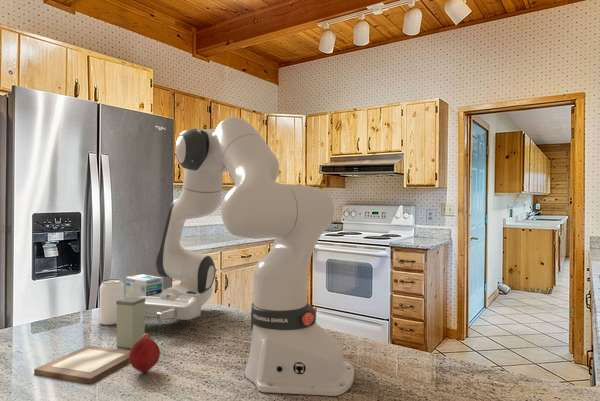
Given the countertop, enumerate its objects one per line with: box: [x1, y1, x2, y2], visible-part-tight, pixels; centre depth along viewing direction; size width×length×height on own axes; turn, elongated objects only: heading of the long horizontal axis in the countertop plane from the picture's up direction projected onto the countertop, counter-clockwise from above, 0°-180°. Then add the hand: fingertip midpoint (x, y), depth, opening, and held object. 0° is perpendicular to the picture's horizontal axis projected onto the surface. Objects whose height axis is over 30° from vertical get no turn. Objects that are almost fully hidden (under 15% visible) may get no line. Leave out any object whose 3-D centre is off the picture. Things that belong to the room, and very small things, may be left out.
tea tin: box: [116, 297, 146, 349], centre depth 99 cm, size 5×5×11 cm
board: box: [33, 344, 131, 384], centre depth 87 cm, size 14×14×1 cm
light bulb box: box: [125, 273, 164, 298], centre depth 129 cm, size 11×7×11 cm, turn 58°
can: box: [99, 278, 125, 326], centre depth 116 cm, size 6×6×12 cm
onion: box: [129, 333, 161, 374], centre depth 83 cm, size 6×6×8 cm
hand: (143, 315), depth 103 cm, fingers open, 8 cm apart
